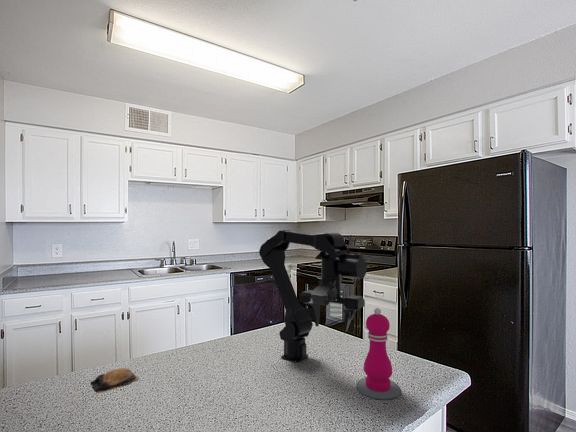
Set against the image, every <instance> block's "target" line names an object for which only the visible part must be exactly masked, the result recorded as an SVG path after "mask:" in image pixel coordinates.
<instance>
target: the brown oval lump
mask: <svg viewBox="0 0 576 432" xmlns="http://www.w3.org/2000/svg"><path fill="white" fill-rule="evenodd" d="M139 380H140V377H138V376H137V375H136V374H135V373H134V372H132V370H130V369H129V368H127V367H120V368H115V369H111V370H109V371H107V372H106V373H103V374H99V375H98V376H97V377H96V378H95V379H94V380H92V381H90V385H91V387H92V389H93V391H95V392H97V393H101V392H106V391H109V390H112V389H113V390H114V389H116V388H119V387H122V386H125V385H129V384H131V383H132V384H133V383H134V382H137V381H139Z"/></svg>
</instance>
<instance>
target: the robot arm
mask: <svg viewBox="0 0 576 432" xmlns="http://www.w3.org/2000/svg"><path fill="white" fill-rule="evenodd" d="M290 243H291V244H296V245H297V244H298V245H302V246H308V247H312V248H314V249H315V250H317V251H319V253H318V254H317V255H316V256H315V260H321V262H320V263H321V273H320V274H321V278H319V279H318V284H317V286H316V287H315V288H314V289H308V290H305V291H301V293H300V294H299V299H298V297H297V294H296V291H295V289H294V286H293V283H292V280H291V279H290V276H289V273H288V271H287V267H286V265H285V261H286V254H285V253H286V251H287V250H288V249H289V248H290V247H289V246H290ZM258 251H259V252H258V253H259V256H260V258H261V260H262V262H263V263H264V265H266V266H267V268H269V270H271V274H272V276H273V279H274V282H275V284H276V288H277V290H278V293H279V296H280V299H281V301H282V305H283V307H284V311H285V312H284V313H285V314H284V318H283V320H284V325H285V326H284V327H283V328H282V329H281V330H280V331H279V332H278V334H279V337H280V340H281V341H283V354H282V355H281V356H280V359H283V360H287V361H291V362H295V363H300V362H301V361H303V360H304V359H306V358H307V357H308V356H309V355H308V353H307V343H306V338H307V337H309V334H310V333H311V331H312V329H313V328H312V327H313V325H314V324H315V327H319V325H320V316H321V306H324V307H326V306H328V305H329V304H330V303H332V304H333V303H334V304H340V305H343V306H344V307H345V308H343V309H342V311H343V314H344V315H343V318H344V319H343V330H344V331H343V332H344V333H346V332H348V329H349V326H350V324H351V321H352V320H353V317H354V316H355V314H356V312H357V311H358V310H361V309H362V308H364V307H365V306H366V305H365V302H366V301H365V298H364V297H363V295H362V296H360V295H354V294H351V295H349V296H345V297H344V296H343V295H344V293H343V291H342V283H343V282H344V281H343V278H344V277H345V278H352V279H359V280H363V279H364V278H365V276H366V274H367V269H368V268H367V267H368V266H367V264H366V261H365V259H364V258H363V257H364V255H363V253H354V254H353V253H352V252H351V251H350V249H349V248H348V246H347V244H346V243H345V240H344V238H343V236H342V234H340V233H339V232H324V233H322V232H321V233H311V232H302V231H295V230H291V229H280V230H278V231H277V232H276V233H275V234H274V235H272V236H271V237H270V238H268V239H267V240H266V241H265V242H264V243H262V244H261V246H260V248H259V250H258ZM342 277H343V278H342ZM300 302H302V303H303V305H304V306H306V307H303V306H302V305H301V304H300ZM313 321H314V323H313Z"/></svg>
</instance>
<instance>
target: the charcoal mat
mask: <svg viewBox="0 0 576 432" xmlns="http://www.w3.org/2000/svg"><path fill="white" fill-rule="evenodd" d="M366 377H367V376H365V377H363V378H360V379H358V380H357V381H356V390H357V391H358V392H359V393H360V394H361V395H363V396H365V397H368V398H370V399H373V400H374V399H375V400H380V401H389V400H394V399H396V398H398V397H400V395H401V387H400V386H399V384H397V383H396V382H395V381H393V380H391V379H390V381H391V388H390V390H388V391H386V392H377V391H373V390H371V389H369V388H368V387H367V386H366Z"/></svg>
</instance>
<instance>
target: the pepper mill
mask: <svg viewBox="0 0 576 432" xmlns="http://www.w3.org/2000/svg"><path fill="white" fill-rule="evenodd" d="M373 312H374V313H373V314H369V316H367V318H366V320H365V327H366V329H367V331H368V332H367V339H369V350H368V352H367V355H366V357H365V358H364V362H363V363H364V364H363V372H364V373H365V375H366V376H365V377H366V386H367V387H368V388H369V389H371V390H373V391H377V392H386V391H388V390H390V388H391V381H392V380H391V379H390V378H391V377H392V375H393V365H392V362H391V359H390V357H389V355H388V353H387V352H388V351H387V341H388V340H389V338H388V336H389V335H388V331H389V330H390V329H391V328H390V320H389V319H388V317H386V316H385V315H383V314H381V313H382V310H381V309H380V308H378V307H377V308H374V310H373ZM390 380H391V381H390Z"/></svg>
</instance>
